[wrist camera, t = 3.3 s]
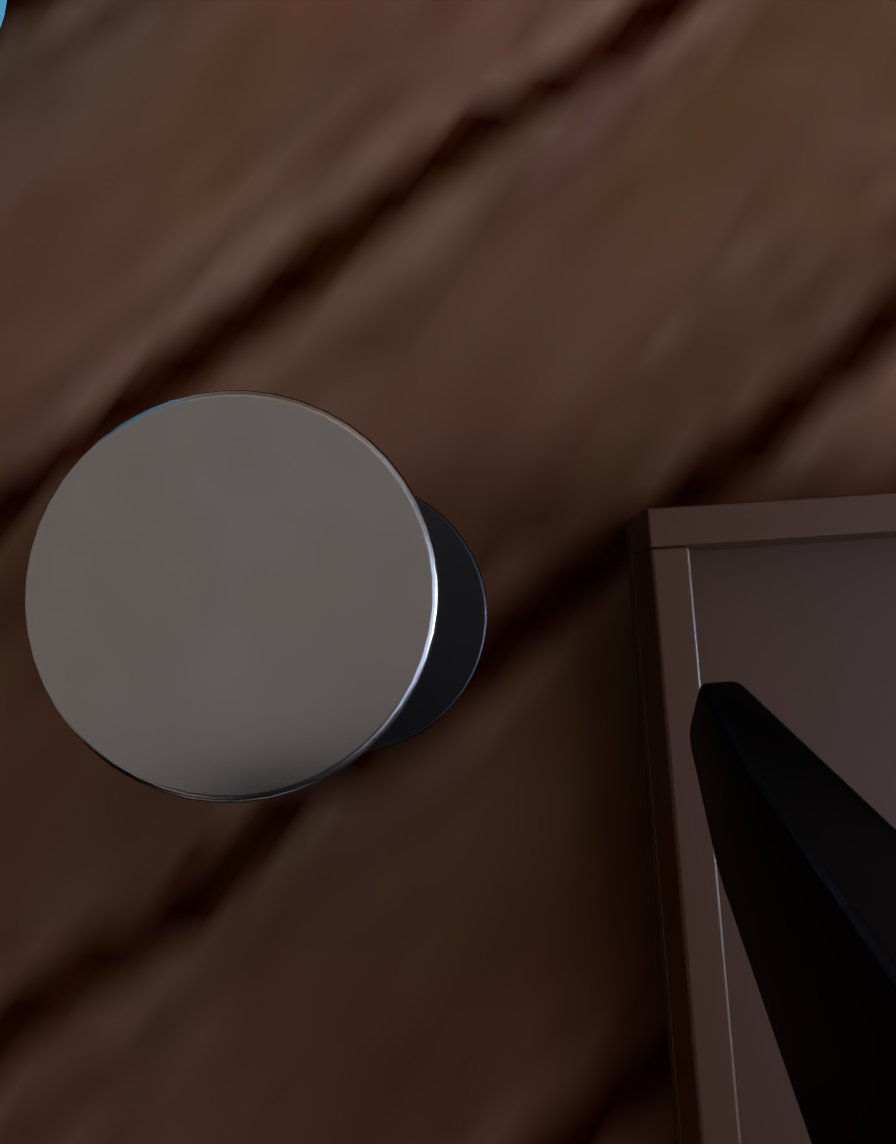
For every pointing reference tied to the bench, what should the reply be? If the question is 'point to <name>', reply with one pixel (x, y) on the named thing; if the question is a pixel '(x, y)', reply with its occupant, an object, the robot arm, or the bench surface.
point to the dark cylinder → (247, 599)
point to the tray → (799, 700)
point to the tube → (2, 10)
